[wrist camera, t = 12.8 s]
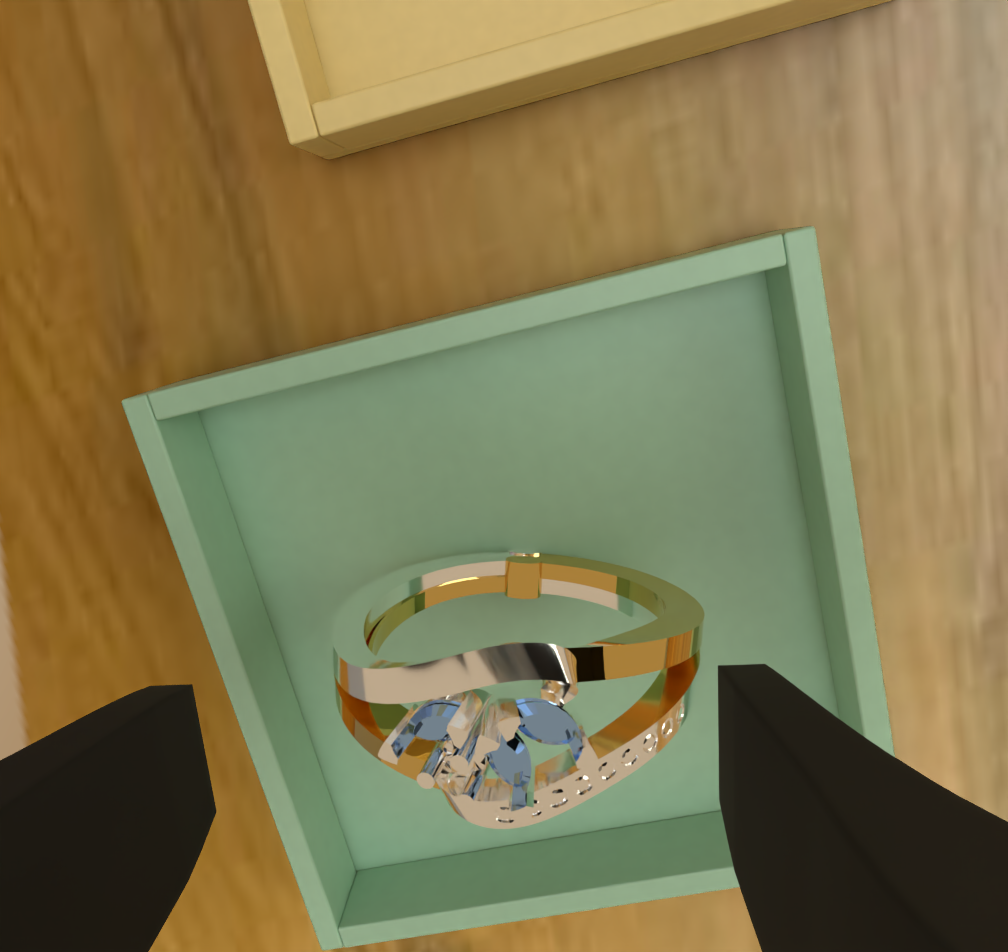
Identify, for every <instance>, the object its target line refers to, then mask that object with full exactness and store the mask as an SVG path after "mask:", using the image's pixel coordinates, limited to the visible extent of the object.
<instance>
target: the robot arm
mask: <svg viewBox="0 0 1008 952" xmlns="http://www.w3.org/2000/svg"><path fill="white" fill-rule="evenodd" d="M718 741H719V802H720V807H721V812H722V816H723V821H724V826H725V831H726V836H727V840H728V845H729V849H730V853H731V858H732V862H733V867H734V871H735V874H736V877H737V880H738V883H739V886H740V889H741V892H742V895H743V898H744V901H745V903H746V906H747V909H748V912H749V915H750V918H751V921H752V924H753V927H754V929H755V932H756V935H757V938H758V941H759V944H760V946H761V949H762V952H1008V822H1007V821H1005V820H1003V819H1001V818H999V817H997V816H995V815H993V814H992V813H990V812H988V811H986V810H984V809H982V808H980V807H978V806H976V805H975V804H973V803H971V802H969V801H967V800H965V799H963V798H961V797H959V796H958V795H956V794H954V793H952V792H951V791H949V790H947V789H945V788H944V787H942V786H940V785H939V784H937V783H935V782H933V781H932V780H930V779H929V778H927V777H925V776H924V775H922V774H921V773H919V772H917V771H916V770H914V769H913V768H911V767H909V766H908V765H906V764H905V763H903V762H902V761H900V760H898V759H897V758H895V757H894V756H892V755H890V754H889V753H887V752H886V751H884V750H883V749H882V748H880V747H879V746H877V745H876V744H874V743H873V742H871V741H870V740H868V739H867V738H865V737H864V736H862V735H861V734H860V733H858V732H857V731H855V730H854V729H853V728H851V727H850V726H848V725H847V724H846V723H844V722H843V721H841V720H840V719H839V718H837V717H836V716H835V715H833V714H832V713H831V712H829V711H828V710H827V709H825V708H824V707H822V706H821V705H820V704H819V703H817V702H816V701H815V700H813V699H812V698H811V697H809V696H808V695H807V694H805V693H804V692H803V691H801V690H800V689H799V688H797V687H796V686H795V685H794V684H792V683H791V682H790V681H788V680H787V679H786V678H784V677H783V676H782V675H780V674H779V673H778V672H776V671H775V670H774V669H772V668H771V667H769V666H768V665H766V664H746V665H718ZM215 814H216V807H215V802H214V796H213V791H212V786H211V781H210V775H209V770H208V765H207V760H206V755H205V749H204V744H203V739H202V734H201V728H200V723H199V718H198V713H197V707H196V702H195V697H194V692H193V687H192V685H165V686H149V687H146V688H144V689H141V690H138V691H136V692H133V693H131V694H129V695H127V696H124V697H122V698H120V699H118V700H116V701H114V702H112V703H110V704H108V705H106V706H104V707H102V708H100V709H98V710H96V711H94V712H92V713H90V714H88V715H86V716H84V717H82V718H80V719H78V720H76V721H75V722H73V723H71V724H69V725H67V726H65V727H63V728H61V729H59V730H57V731H56V732H54V733H52V734H50V735H48V736H46V737H44V738H42V739H40V740H39V741H37V742H35V743H33V744H31V745H29V746H27V747H25V748H23V749H21V750H20V751H18V752H16V753H14V754H12V755H10V756H8V757H6V758H4V759H2V760H0V952H148V951H149V950H150V948H151V946H152V944H153V943H154V941H155V939H156V937H157V936H158V934H159V932H160V930H161V929H162V927H163V925H164V923H165V922H166V920H167V918H168V916H169V915H170V913H171V911H172V909H173V907H174V906H175V904H176V902H177V900H178V899H179V897H180V895H181V893H182V891H183V889H184V888H185V886H186V884H187V882H188V880H189V878H190V876H191V874H192V871H193V869H194V867H195V864H196V862H197V860H198V857H199V855H200V853H201V850H202V848H203V845H204V843H205V840H206V837H207V835H208V832H209V830H210V827H211V824H212V822H213V819H214V817H215Z"/></svg>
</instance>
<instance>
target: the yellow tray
mask: <svg viewBox="0 0 1008 952" xmlns="http://www.w3.org/2000/svg"><path fill="white" fill-rule="evenodd" d="M888 1H892V0H248V4H249V7H250V11H251V14H252V17H253V21H254V24H255V28H256V31H257V34H258V38H259V41H260V45H261V48H262V52H263V55H264V58H265V62H266V65H267V69H268V72H269V75H270V79H271V82H272V86H273V89H274V92H275V96H276V99H277V103H278V106H279V110H280V113H281V116H282V120H283V123H284V127H285V130H286V133H287V137H288V140H289V143H290V144H291V145H293V146H295V147H298V148H300V149H303V150H305V151H307V152H310V153H312V154H315V155H317V156H321V157H322V158H325V159H328V160H330V159H334V158H337V157H341V156H344V155H348V154H352V153H355V152H359V151H362V150H366V149H369V148H373V147H376V146H380V145H383V144H387V143H390V142H394V141H397V140H401V139H405V138H408V137H412V136H415V135H419V134H422V133H426V132H429V131H433V130H436V129H440V128H443V127H447V126H450V125H454V124H458V123H461V122H465V121H468V120H472V119H475V118H479V117H482V116H486V115H489V114H493V113H496V112H500V111H503V110H507V109H511V108H514V107H518V106H521V105H525V104H528V103H532V102H535V101H539V100H542V99H546V98H549V97H553V96H556V95H560V94H563V93H567V92H571V91H574V90H578V89H581V88H585V87H588V86H592V85H595V84H599V83H602V82H606V81H609V80H613V79H616V78H620V77H624V76H627V75H631V74H634V73H638V72H641V71H645V70H648V69H652V68H655V67H659V66H662V65H666V64H669V63H673V62H677V61H680V60H684V59H687V58H691V57H694V56H698V55H701V54H705V53H708V52H712V51H715V50H719V49H722V48H726V47H730V46H733V45H737V44H740V43H744V42H747V41H751V40H754V39H758V38H761V37H765V36H768V35H772V34H775V33H779V32H783V31H786V30H790V29H793V28H797V27H800V26H804V25H807V24H811V23H814V22H818V21H821V20H825V19H828V18H832V17H836V16H839V15H843V14H846V13H850V12H853V11H857V10H860V9H864V8H867V7H871V6H874V5H878V4H881V3H885V2H888Z"/></svg>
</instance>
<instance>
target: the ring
mask: <svg viewBox="0 0 1008 952" xmlns="http://www.w3.org/2000/svg"><path fill="white" fill-rule="evenodd" d="M498 592H504V594H505V596H507V597H511V598H517V599H536V598H539V597H540V596H541V594H551V595H559V596H566V597H572V598H577V599H582V600H586V601H590V602H594V603H598V604H601V605H604V606H607V607H610V608H612V609H615V610H618V611H620V612H622V613H624V614H626V615H628V616H630V617H632V618H634V619H636V620H637V621H639V622H640V623H642V624H643V626H641V627H638V628H636V629H633V630H630V631H627V632H624V633H621V634H618V635H615V636H612V637H609V638H606V639H602V640H599V641H596V642H593V643H589V644H586V645H583V646H579V647H576V648H563V647H561V646H557V645H553V644H547V643H519V642H514V643H503V644H497V645H492V646H487V647H482V648H478V649H474V650H470V651H465V652H461V653H457V654H453V655H448V656H444V657H439V658H434V659H429V660H423V661H415V662H391V661H386V660H383V659H380V658H378V657H377V656H376V655H377V653H378V651H379V649H380V647H381V645H382V644H383V642H384V641H385V640H386V638H387V637H388V636H389V635H390V634H391V632H392V631H393V630H394V629H395V628H397V627H398V626H399V625H400V624H401V623H402V622H404V621H405V620H407V619H408V618H409V617H411V616H413V615H414V614H416V613H418V612H420V611H422V610H424V609H426V608H428V607H430V606H433V605H435V604H438V603H441V602H444V601H447V600H451V599H455V598H459V597H464V596H469V595H476V594H484V593H498ZM704 616H705V614H704V610H703V608H702V606H701V605H700V603H699V602H698V601H697V600H696V599H695V598H694V597H692V596H691V595H690V594H688V593H687V592H685V591H684V590H682V589H681V588H679V587H677V586H675V585H673V584H671V583H669V582H667V581H665V580H663V579H660V578H658V577H655V576H652V575H650V574H647V573H644V572H641V571H638V570H634V569H631V568H627V567H623V566H619V565H615V564H611V563H606V562H601V561H596V560H590V559H584V558H578V557H570V556H562V555H552V554H543V551H542V550H540V549H535V548H526V547H515V548H509V549H507V552H488V553H474V554H465V555H457V556H451V557H445V558H439V559H435V560H430V561H426V562H422V563H418V564H415V565H412V566H408V567H405V568H403V569H400V570H397V571H394V572H392V573H390V574H387V575H385V576H383V577H381V578H379V579H377V580H375V581H373V582H371V583H369V584H368V585H366V586H364V587H363V588H361V589H360V590H358V591H357V592H356V593H354V594H353V595H352V596H351V597H349V598H348V599H347V600H346V601H345V602H344V604H343V605H342V606H341V607H340V609H339V610H338V612H337V613H336V615H335V618H334V620H333V624H332V666H333V671H334V685H335V698H336V704H337V707H338V711H339V713H340V716H341V718H342V720H343V722H344V724H345V726H346V727H347V729H348V730H349V732H350V733H351V734H352V736H353V737H354V738H355V739H356V740H357V742H358V743H359V744H360V745H361V746H362V747H363V748H365V749H366V750H367V751H368V752H369V753H370V754H372V755H373V756H374V757H375V758H377V759H378V760H380V761H381V762H382V763H384V764H386V765H387V766H389V767H390V768H392V769H394V770H396V771H397V772H399V773H401V774H403V775H405V776H407V777H409V778H411V779H414V780H416V781H417V783H418V784H419V785H420V786H421V787H422V788H425V789H430V788H432V787H434V788H437V789H440V790H441V792H442V794H443V795H444V797H445V799H446V801H447V803H448V804H449V806H450V807H451V808H452V809H453V810H454V811H455V812H456V813H457V814H458V815H459V816H460V817H462V818H463V819H465V820H467V821H469V822H471V823H473V824H475V825H478V826H482V827H486V828H493V829H512V828H519V827H524V826H529V825H532V824H536V823H539V822H542V821H544V820H547V819H550V818H552V817H554V816H557V815H559V814H561V813H563V812H565V811H567V810H569V809H571V808H573V807H575V806H577V805H579V804H581V803H583V802H584V801H586V800H588V799H590V798H592V797H593V796H595V795H597V794H599V793H600V792H602V791H604V790H605V789H607V788H609V787H610V786H612V785H614V784H615V783H617V782H619V781H620V780H622V779H623V778H625V777H627V776H628V775H630V774H631V773H633V772H634V771H636V770H637V769H638V768H640V767H641V766H643V765H644V764H645V763H646V762H648V761H649V760H650V759H651V758H653V757H654V756H655V755H656V754H657V753H658V752H659V751H661V750H662V749H663V748H664V747H665V746H666V745H667V744H668V742H669V741H670V740H671V739H672V738H673V737H674V735H675V734H676V733H677V732H678V730H679V729H680V727H681V726H682V724H683V723H684V721H685V719H686V718H687V716H688V714H689V712H690V710H691V708H692V705H693V703H694V700H695V697H696V693H697V689H698V684H699V676H700V668H701V660H702V639H703V627H704ZM659 670H661V671H660V673H659V675H658V676H657V678H656V679H655V681H654V682H653V684H652V685H651V686H650V688H649V689H648V690H647V691H646V692H645V694H644V695H643V696H642V697H641V698H640V699H639V700H638V701H637V702H636V703H635V704H634V705H633V706H632V707H630V708H629V709H628V710H627V711H626V712H625V713H623V714H622V715H621V716H620V717H618V718H617V719H616V720H614V721H613V722H611V723H610V724H609V725H607V726H606V727H604V728H603V729H601V730H600V731H598V732H597V733H595V734H593V735H592V736H590V737H589V736H588V734H587V731H586V729H585V726H584V724H583V722H582V719H581V718H580V716H579V714H578V713H577V711H576V710H575V711H573V712H571V711H570V709H569V708H568V706H567V705H566V703H567V702H569V701H570V700H572V699H573V698H574V697H575V696H576V695H577V693H578V682H589V681H600V680H609V679H617V678H624V677H631V676H636V675H642V674H646V673H651V672H655V671H659ZM522 680H532V681H531V682H529V683H527V684H525V685H523V686H522V687H520V688H516V689H513V686H512V685H506V686H502V687H498V688H495V689H493V690H492V694H493V699H492V698H491V697H492V695H491V694H490V693H488V692H486V691H484V690H481V689H478V688H480V687H484V686H489V685H494V684H499V683H504V682H512V681H522ZM419 701H422V702H421V703H420V704H419V705H417V704H416V703H415V704H414V705H413V706H412V707H411V709H410V710H408V709H406V708H405V707H403V706H402V705H401V703H411V702H419ZM530 738H531V739H532V740H534V741H537V742H539V743H543V744H548V745H564V744H569V747H570V749H568V750H566V751H564V752H563V753H561V754H559V755H557V756H555V757H553V758H551V759H549V760H547V761H545V762H543V763H541V764H539V765H537V766H535V763H532V744H531V740H530ZM491 768H492V769H493V771H494V772H495V773H496V774H497V775H498V776H499V777H500V778H495V779H487V776H488V774H489V772H490V770H491Z"/></svg>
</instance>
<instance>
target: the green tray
mask: <svg viewBox="0 0 1008 952" xmlns="http://www.w3.org/2000/svg"><path fill="white" fill-rule="evenodd" d="M122 405H123V408H124V411H125V413H126V416H127V419H128V422H129V424H130V427H131V430H132V433H133V435H134V438H135V441H136V443H137V446H138V449H139V452H140V454H141V457H142V460H143V463H144V465H145V468H146V471H147V474H148V476H149V479H150V482H151V484H152V487H153V490H154V493H155V495H156V498H157V501H158V504H159V506H160V509H161V512H162V515H163V517H164V520H165V523H166V525H167V528H168V531H169V534H170V536H171V539H172V542H173V545H174V547H175V550H176V553H177V556H178V558H179V561H180V564H181V566H182V569H183V572H184V575H185V577H186V580H187V583H188V586H189V588H190V591H191V594H192V597H193V599H194V602H195V605H196V607H197V610H198V613H199V616H200V618H201V621H202V624H203V627H204V629H205V632H206V635H207V638H208V640H209V643H210V646H211V648H212V651H213V654H214V657H215V659H216V662H217V665H218V668H219V670H220V673H221V676H222V679H223V681H224V684H225V687H226V689H227V692H228V695H229V698H230V700H231V703H232V706H233V709H234V711H235V714H236V717H237V720H238V722H239V725H240V728H241V730H242V733H243V736H244V739H245V741H246V744H247V747H248V750H249V752H250V755H251V758H252V761H253V763H254V766H255V769H256V771H257V774H258V777H259V780H260V782H261V785H262V788H263V791H264V793H265V796H266V799H267V802H268V804H269V807H270V810H271V813H272V815H273V818H274V821H275V823H276V826H277V829H278V832H279V834H280V837H281V840H282V843H283V845H284V848H285V851H286V854H287V856H288V859H289V862H290V864H291V867H292V870H293V873H294V875H295V878H296V881H297V884H298V886H299V889H300V892H301V895H302V897H303V900H304V903H305V905H306V908H307V911H308V914H309V916H310V919H311V922H312V925H313V927H314V930H315V933H316V936H317V938H318V941H319V944H320V946H321V949H322V950H330V949H336V948H342V947H343V946H344V947H352V946H358V945H365V944H372V943H378V942H385V941H391V940H398V939H404V938H411V937H417V936H424V935H430V934H437V933H443V932H450V931H456V930H463V929H469V928H476V927H482V926H489V925H495V924H502V923H508V922H515V921H522V920H528V919H535V918H541V917H548V916H554V915H561V914H567V913H574V912H580V911H587V910H593V909H600V908H606V907H613V906H619V905H626V904H632V903H639V902H645V901H652V900H658V899H665V898H671V897H678V896H685V895H691V894H698V893H704V892H711V891H717V890H724V889H730V888H737V887H740V886H739V883H738V880H737V877H736V874H735V871H734V867H733V862H732V858H731V853H730V849H729V845H728V840H727V836H726V831H725V826H724V821H723V816H722V812H721V807H720V802H719V741H718V665H746V664H766V665H768V666H769V667H771V668H772V669H774V670H775V671H776V672H778V673H779V674H780V675H782V676H783V677H784V678H786V679H787V680H788V681H790V682H791V683H792V684H794V685H795V686H796V687H797V688H799V689H800V690H801V691H803V692H804V693H805V694H807V695H808V696H809V697H811V698H812V699H813V700H815V701H816V702H817V703H819V704H820V705H821V706H822V707H824V708H825V709H827V710H828V711H829V712H831V713H832V714H833V715H835V716H836V717H837V718H839V719H840V720H841V721H843V722H844V723H846V724H847V725H848V726H850V727H851V728H853V729H854V730H855V731H857V732H858V733H860V734H861V735H862V736H864V737H865V738H867V739H868V740H870V741H871V742H873V743H874V744H876V745H877V746H879V747H880V748H882V749H883V750H884V751H886V752H887V753H889V754H890V755H892V756H894V757H895V754H894V747H893V741H892V734H891V727H890V721H889V714H888V707H887V701H886V694H885V688H884V681H883V674H882V668H881V661H880V655H879V648H878V641H877V635H876V628H875V621H874V615H873V608H872V602H871V595H870V588H869V582H868V575H867V569H866V562H865V555H864V549H863V542H862V535H861V529H860V522H859V516H858V509H857V502H856V496H855V489H854V483H853V476H852V469H851V463H850V456H849V449H848V443H847V436H846V430H845V423H844V416H843V410H842V403H841V397H840V390H839V383H838V377H837V370H836V363H835V357H834V350H833V344H832V337H831V330H830V324H829V317H828V311H827V304H826V297H825V291H824V284H823V277H822V271H821V264H820V258H819V251H818V244H817V238H816V231H815V228H814V226H806V227H798V228H790V229H782V230H775V231H771V232H768V233H764V234H760V235H756V236H752V237H748V238H744V239H740V240H736V241H732V242H728V243H724V244H720V245H716V246H712V247H708V248H704V249H700V250H696V251H692V252H688V253H685V254H681V255H677V256H673V257H669V258H665V259H661V260H657V261H653V262H649V263H645V264H641V265H637V266H633V267H629V268H625V269H621V270H617V271H613V272H609V273H605V274H601V275H598V276H594V277H590V278H586V279H582V280H578V281H574V282H570V283H566V284H562V285H558V286H554V287H550V288H546V289H542V290H538V291H534V292H530V293H526V294H522V295H518V296H515V297H511V298H507V299H503V300H499V301H495V302H491V303H487V304H483V305H479V306H475V307H471V308H467V309H463V310H459V311H455V312H451V313H447V314H443V315H439V316H435V317H431V318H428V319H424V320H420V321H416V322H412V323H408V324H404V325H400V326H396V327H392V328H388V329H384V330H380V331H376V332H372V333H368V334H364V335H360V336H356V337H352V338H348V339H345V340H341V341H337V342H333V343H329V344H325V345H321V346H317V347H313V348H309V349H305V350H301V351H297V352H293V353H289V354H285V355H281V356H277V357H273V358H269V359H265V360H261V361H258V362H254V363H250V364H246V365H242V366H238V367H234V368H230V369H226V370H222V371H218V372H214V373H210V374H206V375H202V376H198V377H194V378H190V379H186V380H182V381H178V382H175V383H172V384H169V385H166V386H163V387H160V388H157V389H154V390H151V391H148V392H145V393H141V394H138V395H135V396H132V397H129V398H126V399H124V400H123V401H122ZM515 547H526V548H535V549H540V550H542V551H543V554H552V555H562V556H570V557H578V558H584V559H590V560H596V561H601V562H606V563H611V564H615V565H619V566H623V567H627V568H631V569H634V570H638V571H641V572H644V573H647V574H650V575H652V576H655V577H658V578H660V579H663V580H665V581H667V582H669V583H671V584H673V585H675V586H677V587H679V588H681V589H682V590H684V591H685V592H687V593H688V594H690V595H691V596H692V597H694V598H695V599H696V600H697V601H698V602H699V603H700V605H701V606H702V608H703V610H704V614H705V616H704V627H703V639H702V660H701V668H700V676H699V684H698V689H697V693H696V697H695V700H694V703H693V705H692V708H691V710H690V712H689V714H688V716H687V718H686V719H685V721H684V723H683V724H682V726H681V727H680V729H679V730H678V732H677V733H676V734H675V735H674V737H673V738H672V739H671V740H670V741H669V742H668V744H667V745H666V746H665V747H664V748H663V749H662V750H661V751H659V752H658V753H657V754H656V755H655V756H654V757H653V758H651V759H650V760H649V761H648V762H646V763H645V764H644V765H643V766H641V767H640V768H638V769H637V770H636V771H634V772H633V773H631V774H630V775H628V776H627V777H625V778H623V779H622V780H620V781H619V782H617V783H615V784H614V785H612V786H610V787H609V788H607V789H605V790H604V791H602V792H600V793H599V794H597V795H595V796H593V797H592V798H590V799H588V800H586V801H584V802H583V803H581V804H579V805H577V806H575V807H573V808H571V809H569V810H567V811H565V812H563V813H561V814H559V815H557V816H554V817H552V818H550V819H547V820H544V821H542V822H539V823H536V824H532V825H529V826H524V827H519V828H512V829H493V828H486V827H482V826H478V825H475V824H473V823H471V822H469V821H467V820H465V819H463V818H462V817H460V816H459V815H458V814H457V813H456V812H455V811H454V810H453V809H452V808H451V807H450V806H449V804H448V803H447V801H446V799H445V797H444V795H443V794H442V792H441V790H440V789H437V788H434V787H432V788H430V789H425V788H422V787H421V786H420V785H419V784H418V783H417V781H416V780H414V779H411V778H409V777H407V776H405V775H403V774H401V773H399V772H397V771H396V770H394V769H392V768H390V767H389V766H387V765H386V764H384V763H382V762H381V761H380V760H378V759H377V758H375V757H374V756H373V755H372V754H370V753H369V752H368V751H367V750H366V749H365V748H363V747H362V746H361V745H360V744H359V743H358V742H357V740H356V739H355V738H354V737H353V736H352V734H351V733H350V732H349V730H348V729H347V727H346V726H345V724H344V722H343V720H342V718H341V716H340V713H339V711H338V707H337V704H336V698H335V685H334V671H333V666H332V624H333V620H334V618H335V615H336V613H337V612H338V610H339V609H340V607H341V606H342V605H343V604H344V602H345V601H346V600H347V599H348V598H349V597H351V596H352V595H353V594H354V593H356V592H357V591H358V590H360V589H361V588H363V587H364V586H366V585H368V584H369V583H371V582H373V581H375V580H377V579H379V578H381V577H383V576H385V575H387V574H390V573H392V572H394V571H397V570H400V569H403V568H405V567H408V566H412V565H415V564H418V563H422V562H426V561H430V560H435V559H439V558H445V557H451V556H457V555H465V554H474V553H488V552H507V549H509V548H515ZM641 626H643V624H642V623H640V622H639V621H637V620H636V619H634V618H632V617H630V616H628V615H626V614H624V613H622V612H620V611H618V610H615V609H612V608H610V607H607V606H604V605H601V604H598V603H594V602H590V601H586V600H582V599H577V598H572V597H566V596H559V595H551V594H541V596H540V597H539V598H536V599H517V598H511V597H507V596H505V594H504V592H498V593H484V594H476V595H469V596H464V597H459V598H455V599H451V600H447V601H444V602H441V603H438V604H435V605H433V606H430V607H428V608H426V609H424V610H422V611H420V612H418V613H416V614H414V615H413V616H411V617H409V618H408V619H407V620H405V621H404V622H402V623H401V624H400V625H399V626H398V627H397V628H395V629H394V630H393V631H392V632H391V634H390V635H389V636H388V637H387V638H386V640H385V641H384V642H383V644H382V645H381V647H380V649H379V651H378V653H377V655H376V656H377V657H378V658H380V659H383V660H386V661H391V662H415V661H423V660H429V659H434V658H439V657H444V656H448V655H453V654H457V653H461V652H465V651H470V650H474V649H478V648H482V647H487V646H492V645H497V644H503V643H514V642H519V643H547V644H553V645H557V646H561V647H563V648H576V647H579V646H583V645H586V644H589V643H593V642H596V641H599V640H602V639H606V638H609V637H612V636H615V635H618V634H621V633H624V632H627V631H630V630H633V629H636V628H638V627H641ZM660 671H661V670H659V671H655V672H651V673H646V674H642V675H636V676H631V677H624V678H617V679H609V680H600V681H589V682H578V693H577V695H576V696H575V697H574V698H573V699H572V700H570V701H569V702H567V703H566V705H567V706H568V708H569V709H570V711H571V712H573V711H575V710H576V711H577V713H578V714H579V716H580V718H581V719H582V722H583V724H584V726H585V729H586V731H587V734H588V736H589V737H590V736H592V735H593V734H595V733H597V732H598V731H600V730H601V729H603V728H604V727H606V726H607V725H609V724H610V723H611V722H613V721H614V720H616V719H617V718H618V717H620V716H621V715H622V714H623V713H625V712H626V711H627V710H628V709H629V708H630V707H632V706H633V705H634V704H635V703H636V702H637V701H638V700H639V699H640V698H641V697H642V696H643V695H644V694H645V692H646V691H647V690H648V689H649V688H650V686H651V685H652V684H653V682H654V681H655V679H656V678H657V676H658V675H659V673H660ZM531 681H532V680H522V681H512V682H504V683H499V684H494V685H489V686H484V687H480V688H478V689H481V690H484V691H486V692H488V693H490V694H491V695H492V697H491V698H492V699H493V694H492V690H493V689H495V688H498V687H502V686H506V685H512V686H513V689H516V688H520V687H522V686H523V685H525V684H527V683H529V682H531ZM421 702H422V701H419V702H411V703H401V705H402V706H403V707H405V708H406V709H408V710H410V709H411V707H412V706H413V705H414V704H415V703H416V704H417V705H419V704H420V703H421ZM530 740H531V744H532V763H535V766H537V765H539V764H541V763H543V762H545V761H547V760H549V759H551V758H553V757H555V756H557V755H559V754H561V753H563V752H564V751H566V750H568V749H570V747H569V744H564V745H548V744H543V743H539V742H537V741H534V740H532V739H531V738H530ZM495 778H500V777H499V776H498V775H497V774H496V773H495V772H494V771H493V769H492V768H491V770H490V772H489V774H488V776H487V779H495Z"/></svg>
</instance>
